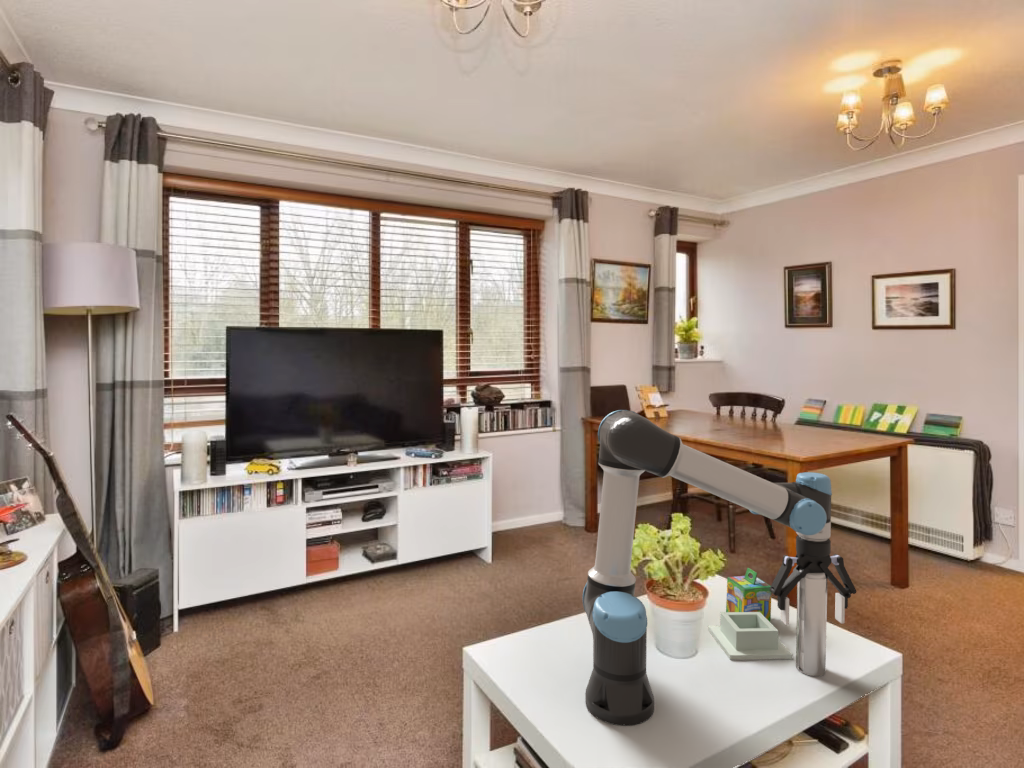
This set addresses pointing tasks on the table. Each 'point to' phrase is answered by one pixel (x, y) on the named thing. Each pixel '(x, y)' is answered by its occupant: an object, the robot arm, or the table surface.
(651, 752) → the table surface
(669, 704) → the table surface
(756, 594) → the chalk box
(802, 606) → the silver metal bar
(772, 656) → the socket block
